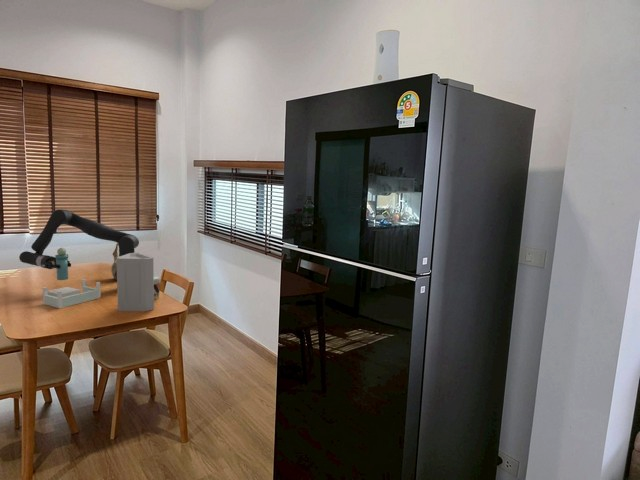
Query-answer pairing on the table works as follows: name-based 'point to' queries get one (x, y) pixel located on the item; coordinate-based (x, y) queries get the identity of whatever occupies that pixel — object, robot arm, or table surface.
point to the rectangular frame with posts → (72, 296)
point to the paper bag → (135, 282)
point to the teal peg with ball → (62, 264)
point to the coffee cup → (156, 287)
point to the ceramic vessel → (115, 262)
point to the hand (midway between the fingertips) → (65, 266)
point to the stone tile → (64, 292)
